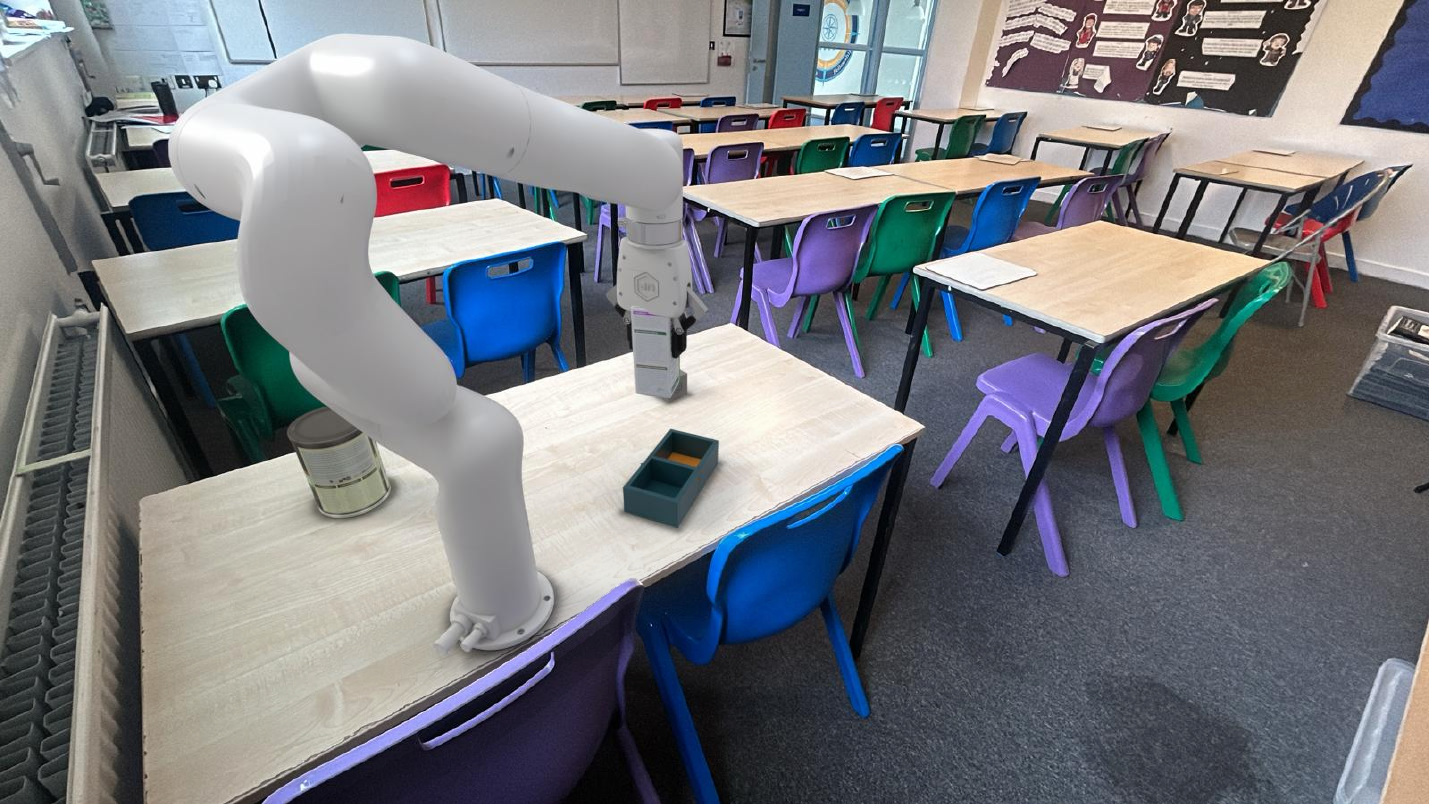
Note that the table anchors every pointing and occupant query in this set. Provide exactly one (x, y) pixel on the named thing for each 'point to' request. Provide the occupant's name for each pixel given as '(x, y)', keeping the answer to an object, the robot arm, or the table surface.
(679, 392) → the dice cube
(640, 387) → the syrup box
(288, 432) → the coffee can
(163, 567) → the table surface
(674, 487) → the tray
